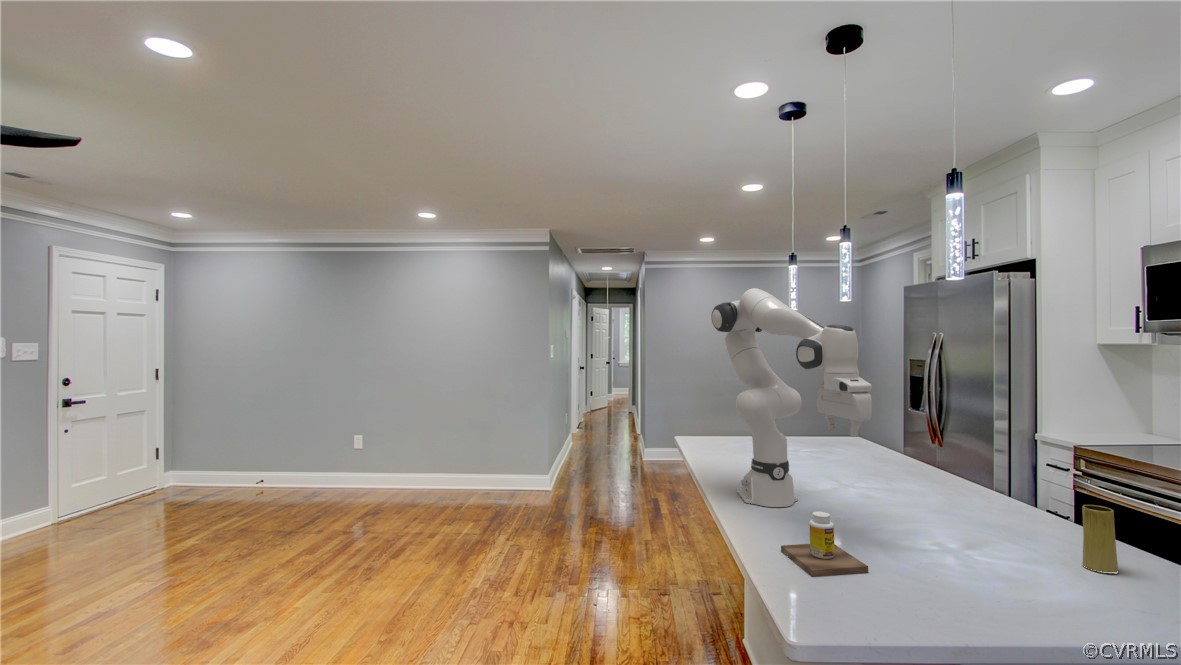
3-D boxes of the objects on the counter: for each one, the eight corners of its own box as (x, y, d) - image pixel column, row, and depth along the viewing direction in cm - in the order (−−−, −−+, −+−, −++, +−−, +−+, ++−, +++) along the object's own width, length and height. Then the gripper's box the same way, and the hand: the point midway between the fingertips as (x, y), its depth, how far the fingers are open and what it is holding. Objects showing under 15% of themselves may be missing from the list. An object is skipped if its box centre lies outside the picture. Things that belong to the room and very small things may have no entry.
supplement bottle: (826, 561, 124) (825, 519, 124) (805, 554, 129) (804, 513, 129) (839, 556, 127) (838, 514, 128) (818, 549, 132) (817, 508, 132)
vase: (1076, 566, 123) (1074, 506, 123) (1090, 561, 125) (1088, 502, 126) (1110, 577, 117) (1108, 513, 118) (1124, 571, 120) (1121, 509, 120)
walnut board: (781, 551, 135) (781, 545, 135) (831, 547, 136) (831, 542, 136) (812, 576, 120) (812, 570, 120) (868, 572, 121) (868, 566, 121)
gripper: (810, 381, 153) (811, 428, 152) (853, 386, 132) (855, 440, 132) (830, 380, 153) (831, 427, 153) (876, 385, 133) (877, 439, 133)
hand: (842, 433), depth 142 cm, fingers open, 8 cm apart
